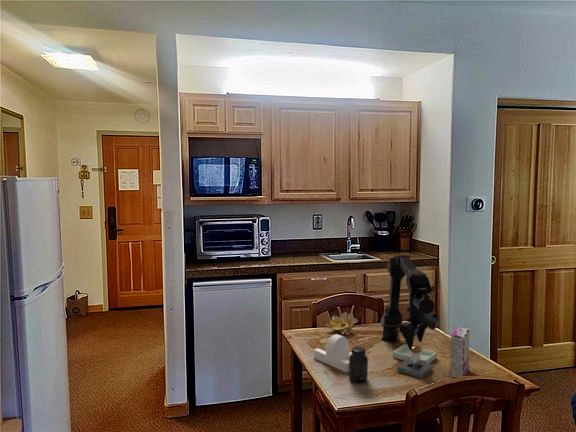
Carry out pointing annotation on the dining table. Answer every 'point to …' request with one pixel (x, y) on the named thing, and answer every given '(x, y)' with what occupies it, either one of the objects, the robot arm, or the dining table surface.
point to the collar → (417, 373)
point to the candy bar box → (459, 352)
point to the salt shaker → (415, 356)
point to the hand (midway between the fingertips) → (415, 345)
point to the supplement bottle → (358, 365)
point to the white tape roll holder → (335, 353)
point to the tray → (405, 353)
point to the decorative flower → (343, 323)
